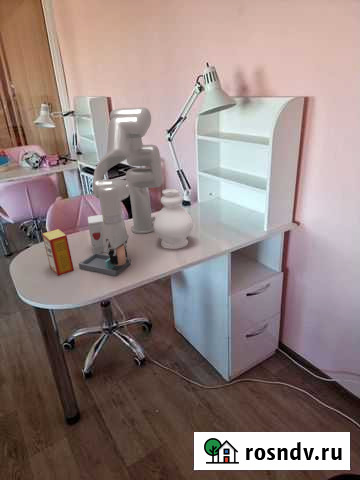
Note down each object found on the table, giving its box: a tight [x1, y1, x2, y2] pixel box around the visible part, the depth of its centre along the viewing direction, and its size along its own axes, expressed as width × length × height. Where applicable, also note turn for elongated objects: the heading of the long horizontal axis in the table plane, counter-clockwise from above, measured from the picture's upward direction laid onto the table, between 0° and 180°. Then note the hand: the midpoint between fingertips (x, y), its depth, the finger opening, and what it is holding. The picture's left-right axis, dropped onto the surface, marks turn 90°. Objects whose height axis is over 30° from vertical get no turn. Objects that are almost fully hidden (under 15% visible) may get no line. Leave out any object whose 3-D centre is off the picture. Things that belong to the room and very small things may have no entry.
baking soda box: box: [41, 228, 75, 277], centre depth 135 cm, size 10×6×16 cm
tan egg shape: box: [111, 244, 127, 266], centre depth 132 cm, size 6×6×7 cm
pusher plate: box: [105, 258, 116, 269], centre depth 135 cm, size 8×1×4 cm, turn 154°
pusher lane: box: [78, 253, 131, 277], centre depth 138 cm, size 11×18×2 cm, turn 64°
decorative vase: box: [153, 188, 194, 250], centre depth 150 cm, size 18×18×25 cm
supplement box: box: [87, 214, 105, 254], centre depth 152 cm, size 9×9×15 cm
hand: (119, 260), depth 133 cm, fingers closed on tan egg shape, 5 cm apart
